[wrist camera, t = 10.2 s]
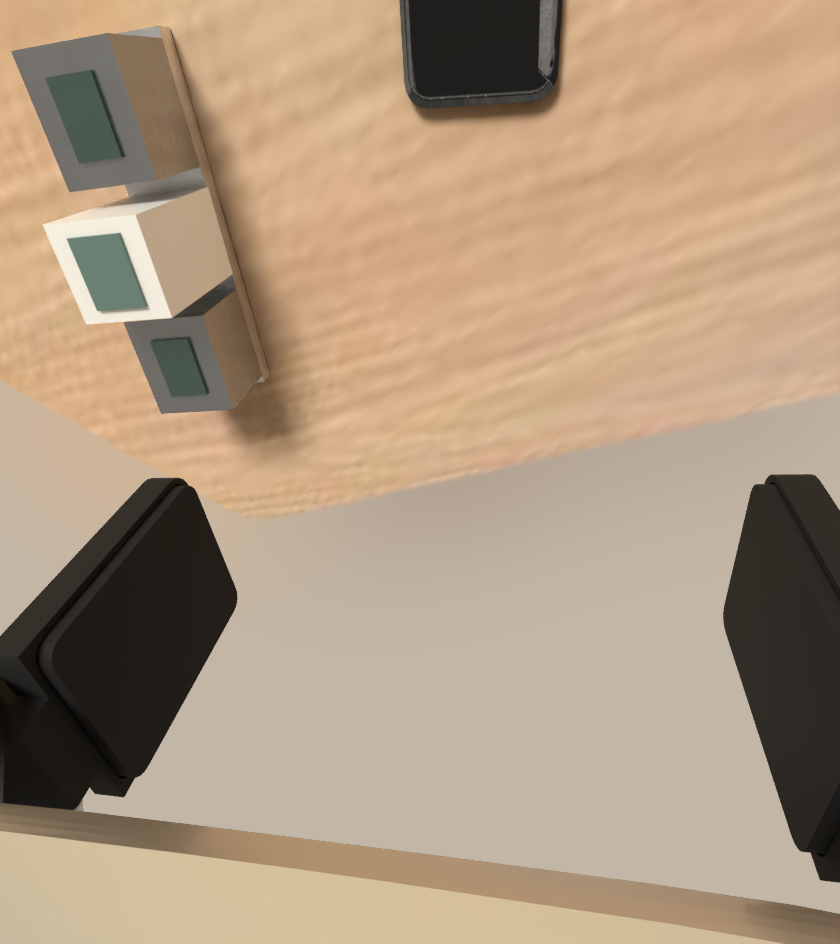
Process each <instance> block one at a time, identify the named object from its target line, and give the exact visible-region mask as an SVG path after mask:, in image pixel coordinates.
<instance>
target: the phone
mask: <svg viewBox="0 0 840 944" xmlns="http://www.w3.org/2000/svg"><path fill="white" fill-rule="evenodd" d="M561 11H562V0H400V15H401V32H402V49H403V66H404V83H405V88H406V92H407V94H408V96H409V98H410V99H411V101H412V102H413V103H414V104H416V105H418V106H419V107H422V108H440V107H456V106H473V105H489V104H506V103H522V102H534V101H539V100H541V99H543V98H544V97H546V96H547V95H548V94H549V93H550V92H551V90H552V89H553V87H554V85H555V83H556V80H557V74H558V61H559V44H560V28H561Z"/></svg>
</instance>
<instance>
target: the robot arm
mask: <svg viewBox="0 0 840 944" xmlns="http://www.w3.org/2000/svg"><path fill="white" fill-rule="evenodd" d="M236 604H237V591H236V588H235V585H234V583H233V580H232V578H231V576H230V573H229V571H228V568H227V566H226V563H225V561H224V558H223V556H222V554H221V551H220V549H219V546H218V544H217V541H216V539H215V537H214V534H213V532H212V529H211V527H210V524H209V522H208V519H207V517H206V514H205V512H204V509H203V507H202V505H201V502H200V500H199V497H198V495H197V492H196V491H195V489H194V488H193V487H191V486H188V484H187V483H186V482H185V481H184V480H183V479H180V478H151V479H148V480H146V481H145V482H144V483H143V484H142V485H141V486H140V487H139V488H138V489H137V490H136V491H135V493H133V495H132V496H131V497H130V498H129V499H128V500H127V501H126V502H125V503H124V504H123V505H122V506H121V507H120V508H119V510H118V511H117V512H116V513H115V514H114V515H113V516H112V517H111V518H110V519H109V520H108V521H107V523H105V525H104V526H103V527H102V528H101V529H100V530H99V531H98V532H97V533H96V534H95V535H94V536H93V537H92V538H91V539H90V541H89V542H88V543H87V544H86V545H85V546H84V547H83V548H82V549H81V550H80V551H79V552H78V553H77V554H76V556H75V557H74V558H73V559H72V560H71V561H70V562H69V563H68V564H67V565H66V566H65V567H64V569H62V571H61V572H60V573H59V574H58V575H57V576H56V577H55V578H54V579H53V580H52V581H51V582H50V583H49V584H48V586H47V587H46V588H45V589H44V590H43V591H42V592H41V593H40V594H39V596H37V597H36V599H35V600H34V601H33V602H32V603H31V604H30V605H29V606H28V607H27V608H26V609H25V610H24V611H23V612H22V613H21V614H20V616H19V617H18V618H17V619H16V620H15V621H14V622H13V623H12V624H11V625H10V626H9V627H8V628H7V630H6V631H5V632H4V633H3V634H2V635H1V636H0V944H840V914H837V913H832V912H827V911H822V910H817V909H811V908H806V907H801V906H796V905H790V904H783V903H776V902H769V901H763V900H756V899H749V898H743V897H736V896H729V895H723V894H715V893H709V892H702V891H696V890H689V889H682V888H676V887H668V886H662V885H656V884H649V883H641V882H634V881H627V880H619V879H611V878H604V877H596V876H589V875H581V874H573V873H566V872H558V871H551V870H543V869H535V868H528V867H520V866H513V865H504V864H497V863H490V862H482V861H474V860H467V859H459V858H452V857H444V856H436V855H429V854H420V853H412V852H405V851H397V850H389V849H382V848H373V847H365V846H358V845H350V844H342V843H334V842H326V841H319V840H310V839H303V838H294V837H287V836H279V835H271V834H263V833H254V832H247V831H239V830H231V829H222V828H215V827H206V826H198V825H190V824H182V823H173V822H165V821H157V820H149V819H140V818H132V817H124V816H116V815H107V814H99V813H91V812H83V804H82V799H83V797H84V795H85V794H86V792H87V791H88V789H89V787H90V788H91V789H92V791H93V792H94V793H95V794H101V795H110V796H118V797H124V796H125V795H126V793H127V791H128V789H129V787H130V786H131V784H132V782H133V780H134V779H135V777H138V776H140V775H141V774H142V773H144V772H145V770H146V768H147V767H148V765H149V763H150V762H151V760H152V758H153V756H154V755H155V753H156V751H157V749H158V747H159V746H160V744H161V742H162V740H163V738H164V737H165V735H166V733H167V731H168V729H169V727H170V726H171V724H172V722H173V720H174V718H175V717H176V715H177V713H178V711H179V709H180V708H181V706H182V704H183V702H184V700H185V699H186V697H187V695H188V693H189V691H190V690H191V688H192V686H193V684H194V682H195V681H196V679H197V677H198V675H199V673H200V671H201V670H202V668H203V666H204V664H205V662H206V661H207V659H208V657H209V655H210V653H211V652H212V650H213V648H214V646H215V644H216V642H217V641H218V639H219V637H220V635H221V634H222V632H223V630H224V628H225V626H226V624H227V623H228V621H229V619H230V617H231V615H232V614H233V612H234V609H235V607H236ZM723 615H724V616H723V619H724V627H725V631H726V635H727V637H728V641H729V644H730V647H731V650H732V653H733V656H734V660H735V662H736V666H737V669H738V672H739V675H740V678H741V681H742V684H743V687H744V690H745V693H746V697H747V700H748V702H749V706H750V709H751V712H752V715H753V718H754V721H755V724H756V727H757V731H758V734H759V736H760V740H761V743H762V746H763V749H764V752H765V755H766V758H767V761H768V764H769V767H770V771H771V774H772V777H773V780H774V783H775V786H776V789H777V792H778V795H779V798H780V802H781V804H782V808H783V811H784V814H785V817H786V820H787V823H788V826H789V829H790V833H791V835H792V838H793V840H794V843H795V845H796V846H797V848H798V849H799V850H800V851H802V852H810V853H811V855H812V858H813V861H814V863H815V867H816V870H817V873H818V875H819V878H820V880H823V881H831V882H840V510H839V509H838V507H837V506H836V504H835V503H834V501H833V500H832V498H831V497H830V495H829V494H828V492H827V491H826V489H825V488H824V486H823V485H822V483H821V482H820V480H819V479H818V478H817V477H816V476H814V475H810V474H805V475H770V476H768V478H767V479H766V481H765V484H756V485H754V487H753V488H752V491H751V494H750V498H749V503H748V507H747V511H746V515H745V520H744V524H743V528H742V533H741V537H740V541H739V545H738V550H737V554H736V558H735V562H734V567H733V571H732V575H731V580H730V584H729V588H728V592H727V597H726V601H725V605H724V612H723Z"/></svg>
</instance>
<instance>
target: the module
mask: <svg viewBox="0 0 840 944" xmlns="http://www.w3.org/2000/svg"><path fill="white" fill-rule="evenodd" d="M43 227H44V229H45V231H46V233H47V236H48V238H49V240H50V243H51V245H52V247H53V249H54V252H55V254H56V256H57V259H58V261H59V263H60V265H61V268H62V270H63V272H64V274H65V277H66V279H67V281H68V284H69V286H70V288H71V290H72V293H73V295H74V297H75V300H76V302H77V304H78V306H79V309H80V311H81V313H82V315H83V318H84V320H85V322H86V324H98V323H111V322H125V321H138V320H152V319H165V318H173V317H174V316H175V315H177V314H178V313H180V312H181V311H182V310H184V309H185V308H187V307H188V306H189V305H191V304H192V303H193V302H195V301H196V300H198V299H199V298H200V297H202V296H203V295H204V294H206V293H207V292H209V291H210V290H211V289H213V288H214V287H216V286H217V285H218V284H220V283H221V282H222V281H224V280H225V279H227V278H228V277H229V276H231V275H232V274H233V273H232V269H231V266H230V262H229V259H228V255H227V252H226V248H225V245H224V241H223V238H222V234H221V231H220V227H219V224H218V220H217V217H216V213H215V210H214V206H213V203H212V199H211V196H210V192H209V189H208V187H203V188H194V189H185V190H177V191H168V192H159V193H151V194H142V195H133V196H129V197H126V198H123V199H120V200H117V201H114V202H110V203H107V204H104V205H101V206H98V207H95V208H92V209H89V210H86V211H83V212H80V213H77V214H74V215H71V216H68V217H65V218H62V219H59V220H56V221H53V222H50V223H47V224H44V225H43Z"/></svg>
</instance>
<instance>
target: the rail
mask: <svg viewBox="0 0 840 944" xmlns="http://www.w3.org/2000/svg"><path fill="white" fill-rule="evenodd" d="M11 52H12V54H13V57H14V59H15V61H16V64H17V66H18V69H19V71H20V74H21V76H22V78H23V81H24V83H25V86H26V88H27V90H28V93H29V95H30V98H31V100H32V103H33V105H34V107H35V110H36V112H37V115H38V117H39V119H40V122H41V124H42V127H43V129H44V131H45V134H46V136H47V139H48V141H49V144H50V146H51V148H52V151H53V153H54V156H55V158H56V160H57V163H58V165H59V168H60V170H61V173H62V175H63V177H64V180H65V182H66V185H67V187H68V189H69V192H74V191H81V190H89V189H96V188H103V187H111V186H118V185H125V186H126V189H127V192H128V195H129V196H133V195H142V194H151V193H159V192H168V191H177V190H185V189H194V188H203V187H208V189H209V192H210V196H211V199H212V203H213V206H214V210H215V213H216V217H217V220H218V224H219V227H220V231H221V234H222V238H223V241H224V245H225V248H226V252H227V255H228V259H229V262H230V266H231V269H232V273H233V274H232V275H231V276H229V277H228V278H227V279H225V280H224V281H222V282H221V283H220V284H218V285H217V286H216V287H214V288H213V289H211V290H210V291H209V292H207V293H206V294H204V295H203V296H202V297H200V298H199V299H198V300H196V301H195V302H193V303H192V304H191V305H189V306H188V307H187V308H185V309H184V310H182V311H181V312H180V313H178V314H177V315H175V316H174V317H173V318H165V319H152V320H138V321H125V322H124V325H125V327H126V329H127V332H128V334H129V337H130V339H131V342H132V344H133V346H134V349H135V351H136V354H137V356H138V358H139V361H140V363H141V366H142V368H143V370H144V373H145V375H146V378H147V380H148V383H149V385H150V387H151V390H152V392H153V395H154V397H155V399H156V402H157V404H158V407H159V409H160V412H161V414H163V413H181V412H199V411H217V410H234V409H235V408H236V406H237V405H238V404H239V403H240V402H241V400H242V399H243V398H244V397H245V396H246V394H247V393H248V392H249V391H250V390H251V388H252V387H253V386H254V385H255V384H256V383H257V382H265V380H266V379H267V378H268V377H269V375H270V373H269V369H268V366H267V362H266V359H265V356H264V352H263V349H262V345H261V342H260V338H259V335H258V331H257V328H256V324H255V321H254V317H253V314H252V311H251V307H250V304H249V300H248V297H247V293H246V290H245V286H244V283H243V279H242V276H241V273H240V269H239V266H238V262H237V259H236V255H235V252H234V248H233V245H232V241H231V238H230V235H229V231H228V228H227V224H226V221H225V217H224V214H223V210H222V207H221V203H220V200H219V197H218V193H217V190H216V186H215V183H214V179H213V176H212V172H211V169H210V165H209V162H208V158H207V155H206V152H205V148H204V145H203V141H202V138H201V134H200V131H199V127H198V124H197V120H196V117H195V114H194V110H193V107H192V103H191V100H190V96H189V93H188V89H187V86H186V82H185V79H184V76H183V72H182V69H181V65H180V62H179V58H178V55H177V51H176V48H175V44H174V41H173V38H172V34H171V31H170V27H163V26H155V27H150V28H144V29H139V30H134V31H128V32H123V33H118V34H111V33H105V34H100V35H95V36H89V37H84V38H79V39H74V40H68V41H63V42H58V43H52V44H47V45H42V46H36V47H31V48H26V49H20V50H15V51H11Z"/></svg>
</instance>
